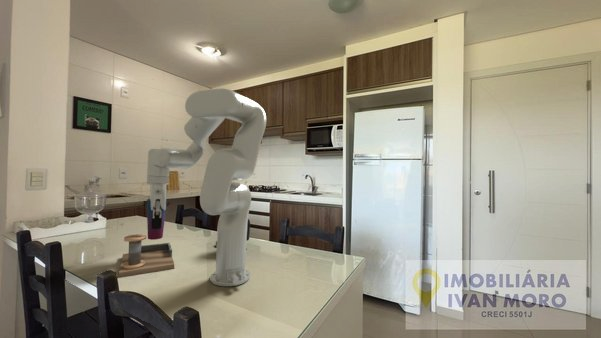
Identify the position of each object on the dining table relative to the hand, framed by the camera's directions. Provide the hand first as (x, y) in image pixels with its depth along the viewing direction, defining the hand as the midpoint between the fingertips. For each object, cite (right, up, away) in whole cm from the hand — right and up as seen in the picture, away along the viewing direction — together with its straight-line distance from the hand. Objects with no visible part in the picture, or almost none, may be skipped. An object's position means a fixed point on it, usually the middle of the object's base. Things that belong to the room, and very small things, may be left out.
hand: (155, 226), depth 97 cm
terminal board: (-1, -13, -4) cm, 13 cm away
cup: (0, -5, 0) cm, 5 cm away
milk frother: (+25, -14, +16) cm, 33 cm away
